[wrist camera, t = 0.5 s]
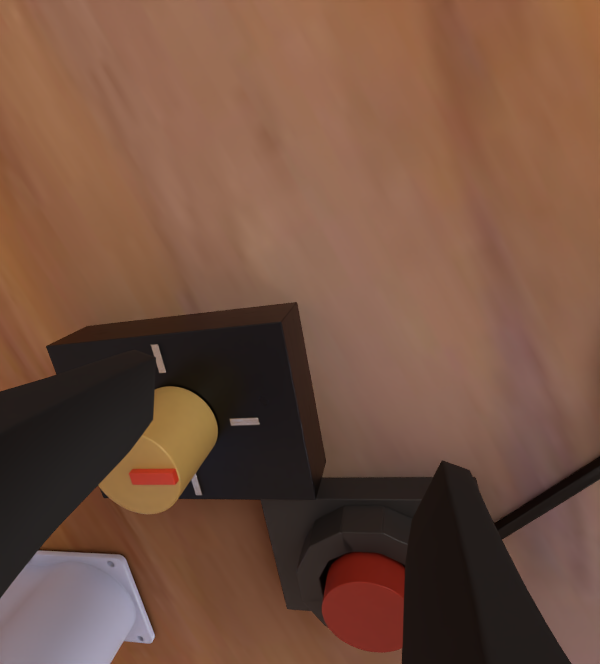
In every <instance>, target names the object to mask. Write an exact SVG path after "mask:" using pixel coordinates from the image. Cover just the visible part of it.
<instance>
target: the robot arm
mask: <svg viewBox="0 0 600 664" xmlns="http://www.w3.org/2000/svg"><path fill="white" fill-rule="evenodd" d="M155 373H156V357H154V356H151V355H148V354H146V353H143V352H140V351H137V350H132V351H128V352H125V353H121V354H118V355H115V356H112V357H109V358H106V359H103V360H100V361H97V362H94V363H91V364H88V365H85V366H82V367H79V368H76V369H73V370H70V371H66V372H63V373H60V374H57V375H54V376H51V377H48V378H45V379H42V380H38V381H35V382H31V383H28V384H25V385H21V386H18V387H14V388H11V389H7V390H4V391H1V392H0V664H110V663H111V661H112V660H113V658H114V656H115V655H116V653H117V651H118V650H119V648H120V646H121V645H122V643H123V641H130V642H139V643H152V642H153V640H154V638H155V634H154V632H153V629H152V626H151V624H150V621H149V618H148V616H147V613H146V611H145V608H144V605H143V603H142V600H141V598H140V595H139V592H138V590H137V587H136V584H135V582H134V579H133V577H132V574H131V571H130V569H129V566H128V563H127V561H126V559H125V557H123V556H122V555H119V554H100V553H80V552H60V551H40V550H39V549H40V547H41V546H42V545H43V544H44V542H45V541H46V540H47V539H48V538H49V537H50V535H51V534H52V533H53V532H54V531H55V530H56V529H57V528H58V526H59V525H60V524H61V523H62V522H63V521H64V520H65V519H66V518H67V517H68V516H69V515H70V514H71V513H72V512H73V511H74V510H75V509H76V508H77V506H78V505H79V504H80V503H81V502H82V501H83V500H84V499H85V498H86V497H87V496H88V495H89V494H90V493H91V492H92V491H93V490H94V489H95V488H96V487H97V486H98V485H99V484H100V483H101V482H102V481H103V479H104V478H105V477H106V476H107V475H108V474H109V473H110V472H111V471H112V470H113V469H114V468H115V467H116V466H117V465H118V464H119V463H120V462H121V461H122V459H123V458H124V457H125V456H126V455H127V454H128V453H129V452H130V451H131V449H132V448H133V447H134V445H135V444H136V443H137V441H138V440H139V439H140V437H141V436H142V435H143V433H144V432H145V430H146V429H147V428H148V426H149V425H150V423H151V422H152V421H153V414H154V393H155ZM402 664H571V662H570V661H569V659H568V658H567V656H566V654H565V653H564V651H563V650H562V648H561V647H560V645H559V643H558V642H557V640H556V639H555V637H554V635H553V634H552V632H551V630H550V629H549V627H548V625H547V624H546V622H545V620H544V618H543V617H542V615H541V613H540V611H539V610H538V608H537V606H536V604H535V602H534V601H533V599H532V597H531V595H530V594H529V592H528V590H527V588H526V586H525V584H524V582H523V581H522V579H521V577H520V575H519V573H518V571H517V569H516V567H515V565H514V563H513V561H512V559H511V557H510V555H509V553H508V551H507V549H506V547H505V545H504V543H503V541H502V539H501V537H500V535H499V533H498V531H497V529H496V527H495V525H494V522H493V520H492V518H491V516H490V514H489V512H488V509H487V507H486V505H485V503H484V501H483V498H482V496H481V494H480V492H479V490H478V487H477V485H476V483H475V481H474V479H473V477H472V474H471V472H470V470H467V469H465V468H462V467H459V466H456V465H454V464H451V463H448V462H445V461H441V463H440V465H439V467H438V469H437V471H436V473H435V475H434V477H433V479H432V481H431V483H430V485H429V487H428V489H427V491H426V493H425V495H424V497H423V499H422V501H421V503H420V505H419V507H418V509H417V511H416V512H415V514H414V516H413V518H412V522H411V528H410V534H409V541H408V548H407V555H406V562H405V582H404V612H403V645H402Z"/></svg>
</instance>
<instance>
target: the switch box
mask: <svg viewBox="0 0 600 664" xmlns="http://www.w3.org/2000/svg"><path fill="white" fill-rule="evenodd" d="M432 479H433V477H419V478H322V479H321V483H320V486H319V490H318V494H317V498H316V500H261V504H262V508H263V512H264V516H265V520H266V524H267V528H268V532H269V536H270V541H271V545H272V549H273V553H274V557H275V561H276V565H277V569H278V573H279V577H280V581H281V585H282V590H283V594H284V598H285V602H286V606H287V609H292V610H305V611H312V612H313V613H314V614H315V615H316V616H317V617H318V619H319V620H320V621H321V622H322V623H323V624H324V625H325V626H326V627H328V626H327V625H326V623H325V621H324V618H323V615H322V601H323V596H324V590H325V585H326V579H327V574H328V571H329V568H330V567H331V565H332V564H333V563H334V562H335V561H336V560H337V559H338V558H339V557H341V556H343V555H345V554H348V553H352V552H370V553H380V554H382V555H385V556H387V557H389V558H391V559H393V560H396V561H397V562H399V563H400V564H402V565H403V566H404V567H405V562H406V555H407V548H408V541H409V534H410V528H411V522H412V518H413V516H414V514H415V512H416V511H417V509H418V507H419V505H420V503H421V501H422V499H423V497H424V495H425V493H426V491H427V489H428V487H429V485H430V483H431V481H432ZM473 479H474V481H475V483H476V485H477V481H476V478H475V477H473ZM477 487H478V485H477ZM478 490H479V489H478Z"/></svg>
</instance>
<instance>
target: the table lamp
mask: <svg viewBox="0 0 600 664" xmlns="http://www.w3.org/2000/svg"><path fill="white" fill-rule="evenodd" d="M598 480H600V457H599V458H597V459H596V460H594V461H593V462H591V463H590V464H588V465H586V466H585V467H583V468H582V469H580V470H579V471H577V472H575V473H574V474H572V475H571V476H569V477H568V478H566V479H564V480H563V481H561V482H560V483H558V484H557V485H555V486H554V487H552V488H550V489H549V490H547V491H546V492H544V493H543V494H541V495H539V496H538V497H536V498H535V499H533V500H532V501H530V502H528V503H527V504H525V505H524V506H522V507H521V508H519V509H518V510H516V511H514V512H513V513H511V514H510V515H508V516H507V517H505V518H503V519H502V520H500V521H499V522H497V523H496V524H494V525H495V527H496V529H497V531H498V533H499V535H500V537H501V539H504V538H505V537H507V536H509V535H510V534H512V533H514V532H515V531H517V530H518V529H520V528H522V527H523V526H525V525H527V524H528V523H530V522H531V521H533V520H535V519H536V518H538V517H540V516H541V515H543V514H544V513H546V512H548V511H549V510H551V509H553V508H554V507H556V506H557V505H559V504H561V503H562V502H564V501H566V500H567V499H569V498H570V497H572V496H574V495H575V494H577V493H579V492H580V491H582V490H583V489H585V488H587V487H588V486H590V485H592V484H593V483H595V482H596V481H598Z"/></svg>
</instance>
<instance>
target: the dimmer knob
mask: <svg viewBox="0 0 600 664" xmlns="http://www.w3.org/2000/svg"><path fill="white" fill-rule="evenodd" d="M217 436H218V427H217V422H216V419H215V416H214V414H213V412H212V411H211V409H210V407H209V406H208V405H207V404H206V403H205V402H204V401H203V400H202V399H201V398H200V397H199V396H197V395H196V394H194V393H193V392H191V391H189V390H186V389H184V388H180V387H174V386H167V387H161V388H158V389H155V393H154V414H153V421H152V422H151V423H150V425H149V426H148V428H147V429H146V430H145V432H144V433H143V435H142V436H141V437H140V439H139V440H138V441H137V443H136V444H135V445H134V447H133V448H132V449H131V451H130V452H129V453H128V454H127V455H126V456H125V457H124V458H123V459H122V461H121V462H120V463H119V464H118V465H117V466H116V467H115V468H114V469H113V470H112V471H111V472H110V473H109V474H108V475H107V476H106V477H105V478H104V479H103V481H102V482H101V483H100V484H99V485H98V486H99V487H100V489H101V490H102V491H103V492H104V493H105V494H106V495H107V496H108V497H109V498H110V499H111V500H112V501H114V502H115V503H117V504H118V505H120V506H121V507H123V508H125V509H127V510H130V511H133V512H136V513H141V514H156V513H160V512H163V511H165V510H167V509H169V508H170V507H172V506H173V505H174V504H175V503H176V501H177V500H178V498H179V497H180V495H181V494H182V492H183V491H184V489H185V488H186V487H187V485H188V484H189V482H190V481H191V479H192V478H193V476H194V475H195V473H196V472H197V470H198V469H199V468H200V466H201V465H202V463H203V462H204V460H205V459H206V457H207V456H208V454H209V453H210V451H211V450H212V448H213V447H214V445H215V443H216V440H217Z"/></svg>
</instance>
